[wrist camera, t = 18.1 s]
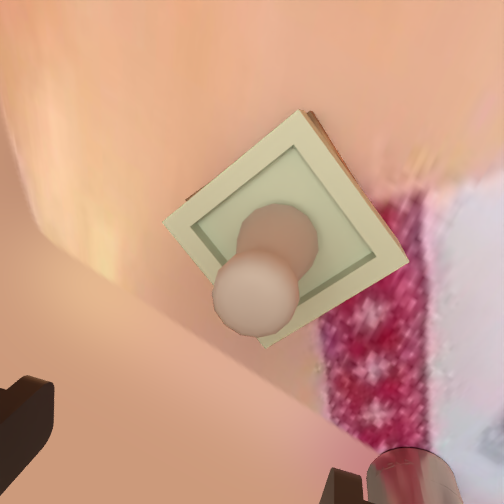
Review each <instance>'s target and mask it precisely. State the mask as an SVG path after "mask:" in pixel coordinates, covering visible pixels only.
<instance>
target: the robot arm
mask: <svg viewBox="0 0 504 504" xmlns="http://www.w3.org/2000/svg"><path fill="white" fill-rule="evenodd" d="M53 423H54V385H53V383H52V382H49V381H45V380H42V379H38V378H35V377H32V376H28V375H27V376H23V377H22V378H20V379H19V380H18V381H17V382H15V383H14V384H13V385H12V386H11V387H9V388H8V389H7V390H5V389H2V388H0V495H1V494H2V493H3V492H4V491H5V490H6V489H7V487H8V486H9V485H10V484H11V483H12V482H13V481H14V480H15V478H16V477H17V476H18V475H19V474H20V473H21V472H22V471H23V470H24V468H25V467H26V466H27V465H28V464H29V463H30V462H31V461H32V459H33V458H34V457H35V456H36V455H37V454H38V452H39V451H40V450H41V449H42V448H43V447H44V445H45V444H46V442H47V441H48V439H49V437H50V435H51V432H52V429H53ZM366 479H367V489H368V501H365V500H363V489H362V479H361V476H360V475H356V474H353V473H349V472H346V471H343V470H340V469H336V468H332V469H331V470H330V473H329V476H328V479H327V482H326V485H325V488H324V491H323V494H322V497H321V500H320V503H319V504H463V501H462V498H461V495H460V492H459V489H458V486H457V483H456V480H455V477H454V474H453V472H452V470H451V469H450V467H449V466H448V465H447V464H446V463H445V462H444V461H443V460H442V459H441V458H439V457H438V456H436V455H434V454H432V453H430V452H428V451H424V450H420V449H416V448H399V449H394V450H390V451H388V452H385V453H383V454H381V455H380V456H379V457H377V458H376V459H375V460H374V461H373V462H372V464H371V465H370V467H369V469H368V471H367V478H366Z"/></svg>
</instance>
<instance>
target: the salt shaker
mask: <svg viewBox="0 0 504 504" xmlns="http://www.w3.org/2000/svg"><path fill="white" fill-rule="evenodd" d="M318 251H319V249H318V238H317V231H316V229H315V228H314V226H313V225H312V223H311V221H310V220H309V218H308V216H307V215H305V214H304V213H302V212H301V211H299V210H298V209H296V208H294V207H293V206H290V205H282V204H274V203H273V204H270V205H267V206H264V207H261V208H258V209H256V210H254V211H253V212H252V213H251V214H250V215H249V216H248V217H247V218H246V219H245V220H244V221H243V222H242V225H241V228H240V231H239V234H238V238H237V246H236V254H235V255H234V256H233V257H232V258H231V259H230V260H229V261H228V262H227V263H225V264H224V265H223V266H222V267H221V268H220V269H219V270H218V273H217V276H216V279H215V283H214V286H213V290H212V298H213V304H214V310H215V312H216V313H217V314H218V316H219V317H220V319H221V320H222V322H223V323H224V324H225V325H226V326H227V327H229V328H230V329H232V330H233V331H235V332H237V333H238V334H240V335H244V336H250V337H256V338H260V337H264V336H268V335H273V334H276V333H277V332H278V331H280V330H281V329H282V328H283V327H284V326H285V325H287V324H288V323H289V322H290V320H291V319H292V317H293V315H294V312H295V310H296V307H297V305H298V303H299V288H298V281H299V280H300V279H301V278H302V277H303V276H304V275H305V274H306V273H307V271H308V270H309V269H310V268H311V267H312V265H313V263H314V260H315V258H316V256H317V253H318Z"/></svg>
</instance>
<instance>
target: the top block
mask: <svg viewBox="0 0 504 504" xmlns="http://www.w3.org/2000/svg"><path fill="white" fill-rule="evenodd" d="M273 203H274V204H282V205H290V206H293V207H294V208H296V209H298V210H299V211H301V212H302V213H304V214H305V215H307V216H308V218H309V220H310V221H311V223H312V225H313V226H314V228H315V229H316V231H317V238H318V249H319V251H318V253H317V256H316V258H315V260H314V263H313V265H312V267H311V268H310V269H309V270H308V271H307V273H306V274H305V275H304V276H303V277H302V278H301V279H300V280H299V281H298V288H299V303H298V305H297V307H296V310H295V312H294V315H293V317H292V319H291V320H290V322H289V323H288V324H287V325H285V326H284V327H283V328H282V329H281V330H280V331H278V332H277V333H276V334H273V335H268V336H264V337H260V338H257V340H258V341H259V342H260V343H261V344H262V346H263V347H264V348H265V349H267V348H268V347H270V346H271V345H273V344H275V343H276V342H278V341H280V340H281V339H283V338H285V337H286V336H288V335H290V334H291V333H293V332H295V331H296V330H298V329H300V328H301V327H303V326H305V325H306V324H308V323H310V322H311V321H313V320H314V319H316V318H318V317H319V316H321V315H323V314H324V313H326V312H328V311H329V310H331V309H333V308H334V307H336V306H338V305H339V304H341V303H343V302H344V301H346V300H348V299H349V298H351V297H353V296H354V295H356V294H358V293H359V292H361V291H362V290H364V289H366V288H367V287H369V286H371V285H372V284H374V283H376V282H377V281H379V280H381V279H382V278H384V277H386V276H387V275H389V274H391V273H392V272H394V271H396V270H397V269H399V268H401V267H402V266H404V265H405V264H407V263H409V260H408V258H407V256H406V254H405V252H404V250H403V248H402V246H401V245H400V243H399V241H398V239H397V238H396V236H395V235H394V234H393V232H392V231H391V230H390V228H389V227H388V225H387V224H386V223H385V221H384V220H383V218H382V217H381V216H380V214H379V213H378V212H377V210H376V209H375V207H374V206H373V205H372V203H371V202H370V201H369V199H368V198H367V196H366V195H365V194H364V192H363V191H362V190H361V188H360V187H359V185H358V184H357V183H356V181H355V180H354V178H353V177H352V176H351V174H350V173H349V172H348V170H347V169H346V167H345V166H344V165H343V163H342V162H341V161H340V159H339V158H338V156H337V155H336V154H335V152H334V151H333V150H332V148H331V147H330V145H329V144H328V143H327V141H326V140H325V138H324V137H323V136H322V134H321V133H320V132H319V130H318V129H317V127H316V126H315V125H314V123H313V122H312V121H311V119H310V118H309V116H308V115H307V114H306V112H305V111H304V110H300V109H298V110H297V111H296V112H295V113H293V114H292V115H291V116H290V117H289V118H287V119H286V120H285V121H284V122H282V123H281V124H280V125H279V126H278V127H276V128H275V129H274V130H273V131H272V132H270V133H269V134H268V135H267V136H265V137H264V138H263V139H262V140H261V141H259V142H258V143H257V144H256V145H255V146H253V147H252V148H251V149H250V150H249V151H247V152H246V153H245V154H244V155H242V156H241V157H240V158H239V159H238V160H236V161H235V162H234V163H233V164H232V165H230V166H229V167H228V168H227V169H226V170H224V171H223V172H222V173H221V174H219V175H218V176H217V177H216V178H215V179H213V180H212V181H211V182H210V183H209V184H207V185H206V186H205V187H204V188H202V189H201V190H200V191H199V192H198V193H196V194H195V195H194V196H193V197H192V198H190V199H189V200H188V201H187V202H186V203H184V204H183V205H182V206H181V207H179V208H178V209H177V210H176V211H175V212H173V213H172V214H171V215H170V216H169V217H167V218H166V219H165V220H164V221H163V222H162V223H163V224H164V226H165V227H166V228H167V229H168V230H169V232H170V233H171V234H172V235H173V237H174V238H175V239H176V240H177V241H178V243H179V244H180V245H181V246H182V248H183V249H184V250H185V251H186V252H187V254H188V255H189V256H190V257H191V259H192V260H193V261H194V262H195V264H196V265H197V266H198V267H199V268H200V270H201V271H202V272H203V273H204V275H205V276H206V277H207V278H208V279H209V281H210V282H211V283H212V284H213V286H214V283H215V279H216V276H217V273H218V270H219V269H220V268H221V267H222V266H223V265H224V264H225V263H227V262H228V261H229V260H230V259H231V258H232V257H233V256H234V255H235V254H236V246H237V238H238V234H239V231H240V228H241V225H242V222H243V221H244V220H245V219H246V218H247V217H248V216H249V215H250V214H251V213H252V212H253V211H254V210H256V209H258V208H261V207H264V206H267V205H270V204H273Z"/></svg>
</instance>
